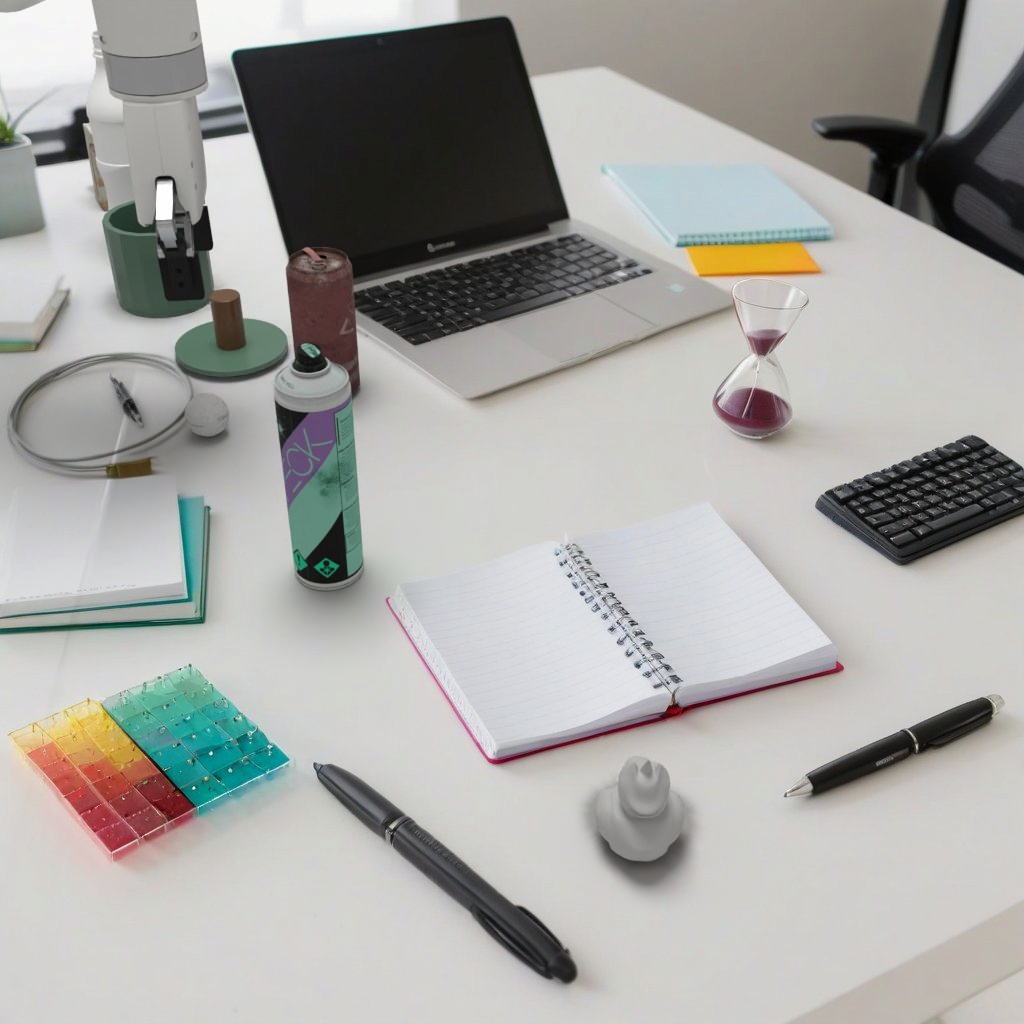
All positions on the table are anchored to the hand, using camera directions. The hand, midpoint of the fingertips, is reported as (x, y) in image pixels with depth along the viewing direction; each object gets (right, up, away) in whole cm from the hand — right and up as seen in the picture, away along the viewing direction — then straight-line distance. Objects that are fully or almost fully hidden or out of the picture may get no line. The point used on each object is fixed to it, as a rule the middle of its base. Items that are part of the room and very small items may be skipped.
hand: (190, 273), depth 100 cm
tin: (-11, +4, +30) cm, 32 cm away
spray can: (+13, -25, -7) cm, 29 cm away
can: (+10, -9, +15) cm, 20 cm away
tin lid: (-1, -4, +20) cm, 20 cm away
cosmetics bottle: (-24, +20, +52) cm, 60 cm away
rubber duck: (+36, -41, -27) cm, 60 cm away
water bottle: (-17, +11, +40) cm, 45 cm away
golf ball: (0, -13, +8) cm, 16 cm away
